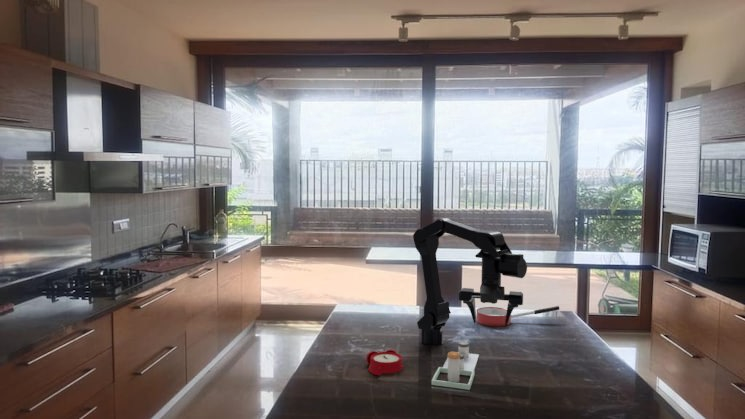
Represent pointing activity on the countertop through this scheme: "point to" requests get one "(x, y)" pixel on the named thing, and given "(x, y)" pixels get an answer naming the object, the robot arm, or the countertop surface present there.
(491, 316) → the frying pan
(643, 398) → the countertop surface
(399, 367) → the alarm clock
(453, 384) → the tray
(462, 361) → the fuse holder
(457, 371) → the cylinder
